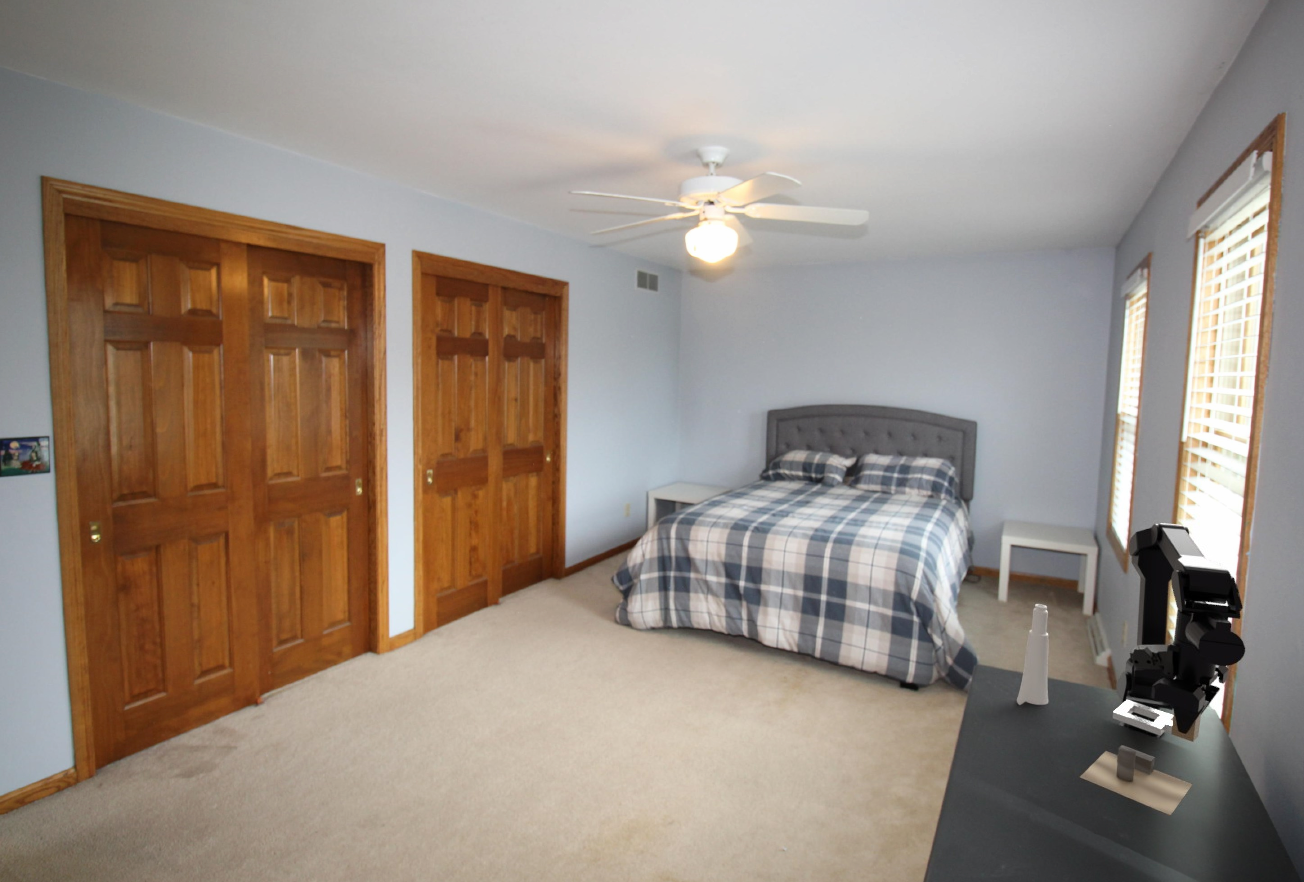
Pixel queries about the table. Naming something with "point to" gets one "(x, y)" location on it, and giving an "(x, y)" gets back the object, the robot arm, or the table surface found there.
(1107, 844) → the table surface
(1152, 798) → the maple peg board
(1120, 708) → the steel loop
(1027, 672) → the cosmetic bottle
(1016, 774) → the table surface
